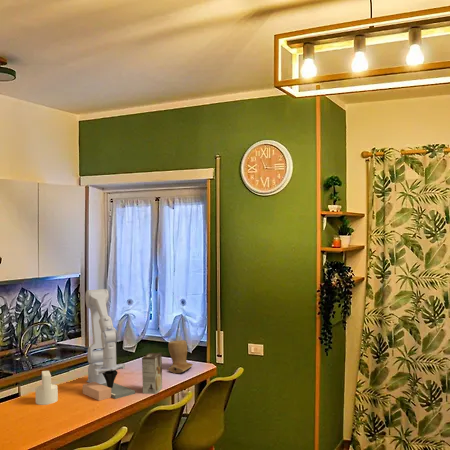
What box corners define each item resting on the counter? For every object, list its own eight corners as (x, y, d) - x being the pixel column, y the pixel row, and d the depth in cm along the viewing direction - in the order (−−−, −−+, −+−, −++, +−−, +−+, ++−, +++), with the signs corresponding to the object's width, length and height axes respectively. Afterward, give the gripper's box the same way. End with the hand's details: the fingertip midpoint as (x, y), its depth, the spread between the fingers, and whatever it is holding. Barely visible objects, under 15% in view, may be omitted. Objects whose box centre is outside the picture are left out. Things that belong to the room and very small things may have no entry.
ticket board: (91, 389, 250) (91, 385, 250) (111, 384, 257) (110, 381, 257) (115, 399, 235) (115, 395, 235) (135, 394, 242) (135, 390, 242)
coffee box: (149, 387, 251) (148, 352, 251) (162, 388, 250) (162, 353, 250) (142, 393, 242) (141, 357, 242) (156, 394, 241) (155, 358, 241)
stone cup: (174, 365, 289) (174, 337, 289) (195, 367, 286) (194, 338, 285) (161, 373, 275) (161, 343, 275) (183, 375, 271) (183, 344, 271)
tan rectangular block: (82, 393, 243) (82, 384, 243) (94, 390, 247) (94, 381, 247) (99, 400, 233) (98, 391, 233) (111, 397, 237) (111, 388, 237)
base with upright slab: (34, 399, 236) (34, 372, 236) (56, 396, 240) (56, 369, 240) (36, 406, 228) (36, 377, 228) (59, 403, 232) (58, 374, 232)
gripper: (99, 361, 237) (100, 393, 237) (128, 355, 247) (128, 385, 247) (91, 358, 242) (92, 389, 242) (119, 353, 252) (120, 382, 252)
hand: (110, 387), depth 245 cm, fingers closed
